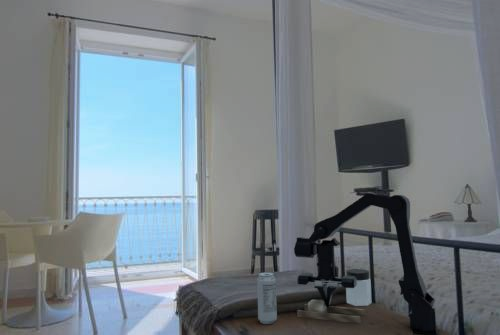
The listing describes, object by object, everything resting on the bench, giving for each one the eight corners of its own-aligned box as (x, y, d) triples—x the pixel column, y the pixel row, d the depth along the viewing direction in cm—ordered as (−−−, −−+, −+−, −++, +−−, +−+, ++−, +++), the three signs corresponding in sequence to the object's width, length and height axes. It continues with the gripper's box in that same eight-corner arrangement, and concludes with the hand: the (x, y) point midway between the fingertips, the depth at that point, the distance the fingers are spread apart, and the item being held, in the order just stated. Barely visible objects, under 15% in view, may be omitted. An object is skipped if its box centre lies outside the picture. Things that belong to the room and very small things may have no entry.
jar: (369, 301, 145) (367, 268, 146) (374, 307, 136) (372, 272, 137) (344, 301, 145) (343, 268, 146) (348, 307, 137) (347, 273, 138)
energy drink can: (272, 317, 127) (271, 271, 129) (280, 323, 122) (278, 274, 123) (255, 320, 125) (254, 273, 127) (262, 325, 120) (261, 276, 121)
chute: (364, 316, 126) (364, 309, 126) (360, 325, 118) (359, 317, 118) (305, 310, 134) (305, 303, 135) (297, 318, 126) (297, 310, 126)
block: (326, 312, 129) (326, 300, 130) (323, 317, 125) (322, 304, 125) (312, 311, 131) (312, 299, 132) (308, 315, 127) (307, 303, 127)
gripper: (358, 256, 131) (360, 303, 130) (305, 254, 139) (307, 298, 138) (352, 261, 121) (355, 312, 120) (296, 259, 129) (297, 306, 128)
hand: (327, 306), depth 127 cm, fingers closed
